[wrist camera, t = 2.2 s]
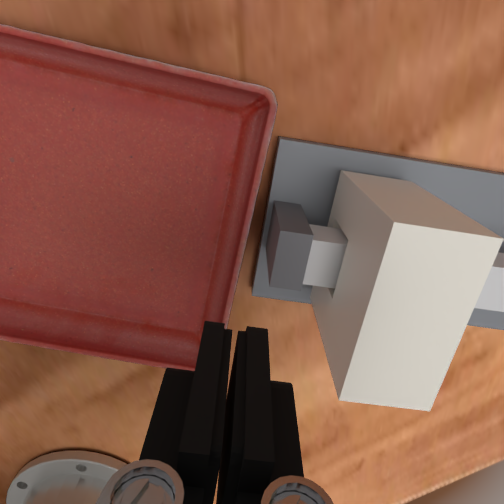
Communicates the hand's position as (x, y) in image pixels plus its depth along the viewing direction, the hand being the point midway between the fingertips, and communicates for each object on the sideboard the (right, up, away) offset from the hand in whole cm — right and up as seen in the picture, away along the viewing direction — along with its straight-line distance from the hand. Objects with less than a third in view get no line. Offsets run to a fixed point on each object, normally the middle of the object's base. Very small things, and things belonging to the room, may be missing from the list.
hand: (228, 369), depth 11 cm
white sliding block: (+7, +4, +13) cm, 15 cm away
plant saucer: (-9, +6, +15) cm, 18 cm away
